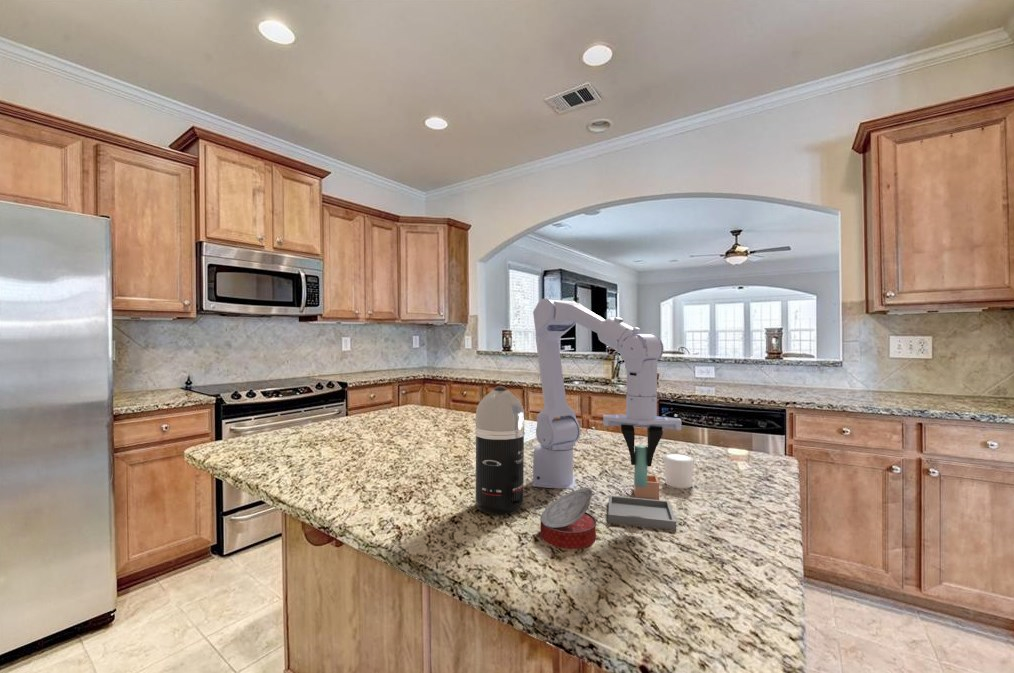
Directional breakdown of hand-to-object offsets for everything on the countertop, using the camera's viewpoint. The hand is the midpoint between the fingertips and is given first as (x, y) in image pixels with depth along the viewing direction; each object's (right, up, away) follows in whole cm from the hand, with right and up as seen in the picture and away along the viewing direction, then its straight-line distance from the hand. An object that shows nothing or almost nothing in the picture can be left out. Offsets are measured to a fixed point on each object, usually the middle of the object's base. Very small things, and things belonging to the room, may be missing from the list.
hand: (640, 464), depth 85 cm
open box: (+5, -10, +11) cm, 16 cm away
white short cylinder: (+15, -11, +18) cm, 25 cm away
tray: (0, -10, 0) cm, 10 cm away
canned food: (-15, -11, -8) cm, 20 cm away
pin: (0, -4, 0) cm, 4 cm away
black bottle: (-28, -10, +5) cm, 30 cm away
